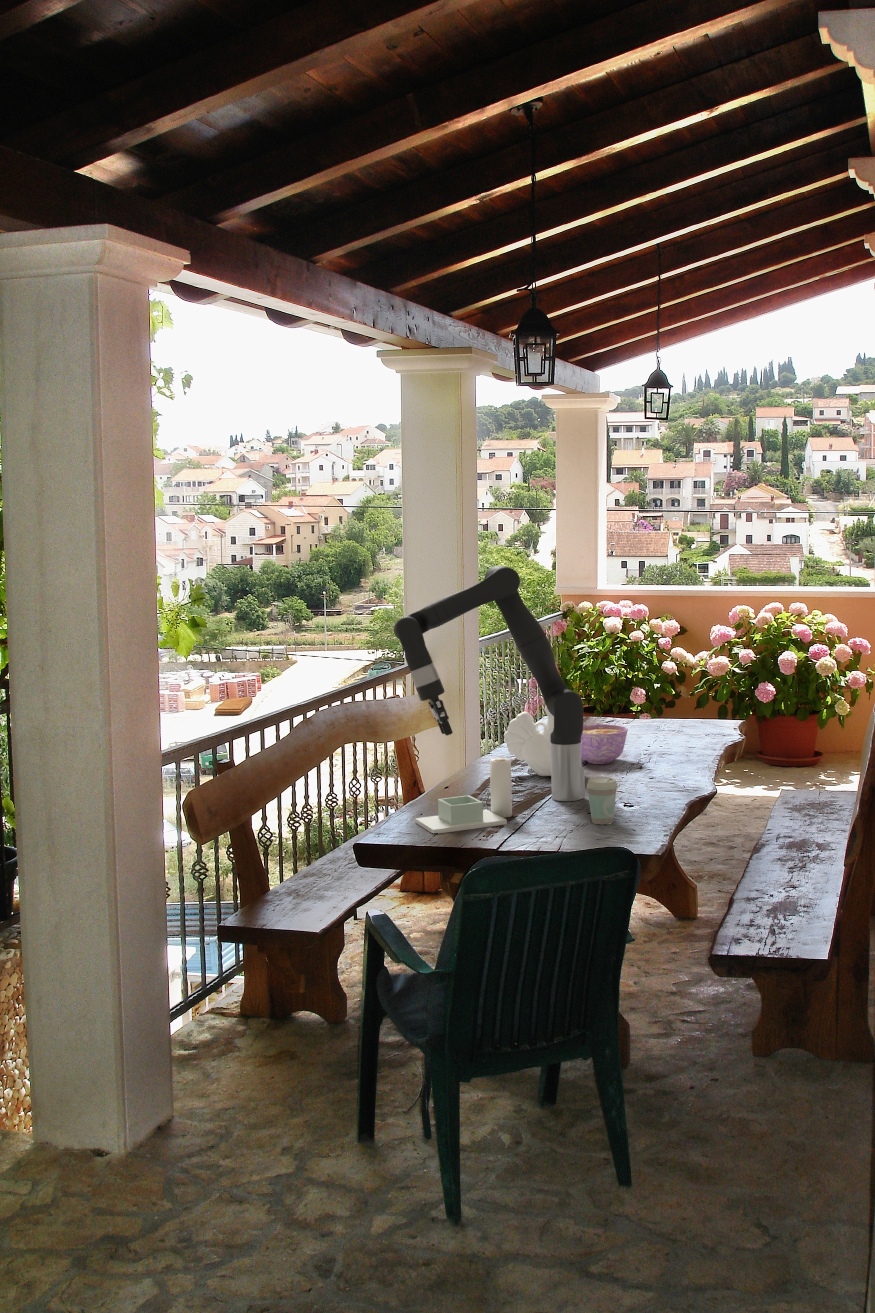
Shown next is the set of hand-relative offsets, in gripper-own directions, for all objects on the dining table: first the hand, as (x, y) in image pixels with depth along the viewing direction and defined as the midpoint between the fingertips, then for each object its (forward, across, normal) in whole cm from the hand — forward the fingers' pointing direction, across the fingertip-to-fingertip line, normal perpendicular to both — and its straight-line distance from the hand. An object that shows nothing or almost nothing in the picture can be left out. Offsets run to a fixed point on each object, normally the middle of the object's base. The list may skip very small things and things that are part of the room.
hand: (447, 733), depth 324 cm
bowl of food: (+35, +60, -52) cm, 87 cm away
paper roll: (+27, -5, -6) cm, 28 cm away
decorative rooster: (+29, +46, -30) cm, 62 cm away
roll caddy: (+24, -12, +7) cm, 27 cm away
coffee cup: (+37, -20, -29) cm, 51 cm away
